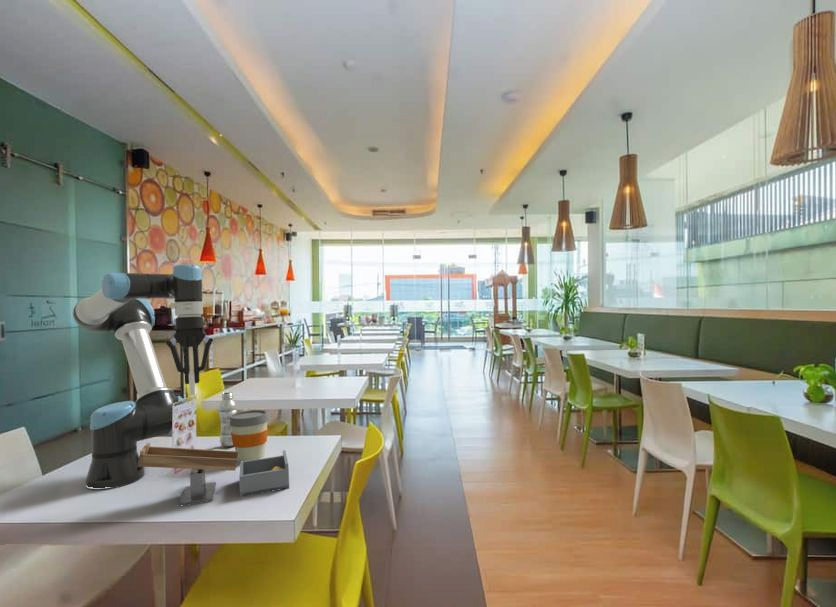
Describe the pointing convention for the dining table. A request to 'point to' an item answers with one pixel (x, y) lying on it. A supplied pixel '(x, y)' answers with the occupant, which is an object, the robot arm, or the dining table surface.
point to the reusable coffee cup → (249, 434)
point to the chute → (187, 458)
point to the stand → (198, 489)
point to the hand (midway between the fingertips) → (192, 394)
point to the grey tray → (263, 475)
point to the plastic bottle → (226, 418)
